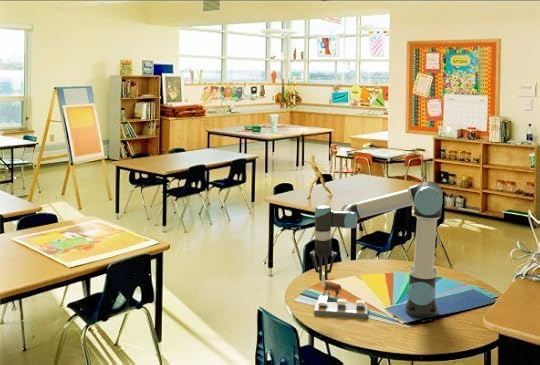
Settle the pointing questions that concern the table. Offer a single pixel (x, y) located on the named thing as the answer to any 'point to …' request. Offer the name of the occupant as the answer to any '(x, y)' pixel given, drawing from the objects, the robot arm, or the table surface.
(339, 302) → the switch middle
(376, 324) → the table surface
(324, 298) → the switch
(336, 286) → the bull figurine
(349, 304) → the switch panel
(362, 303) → the switch
